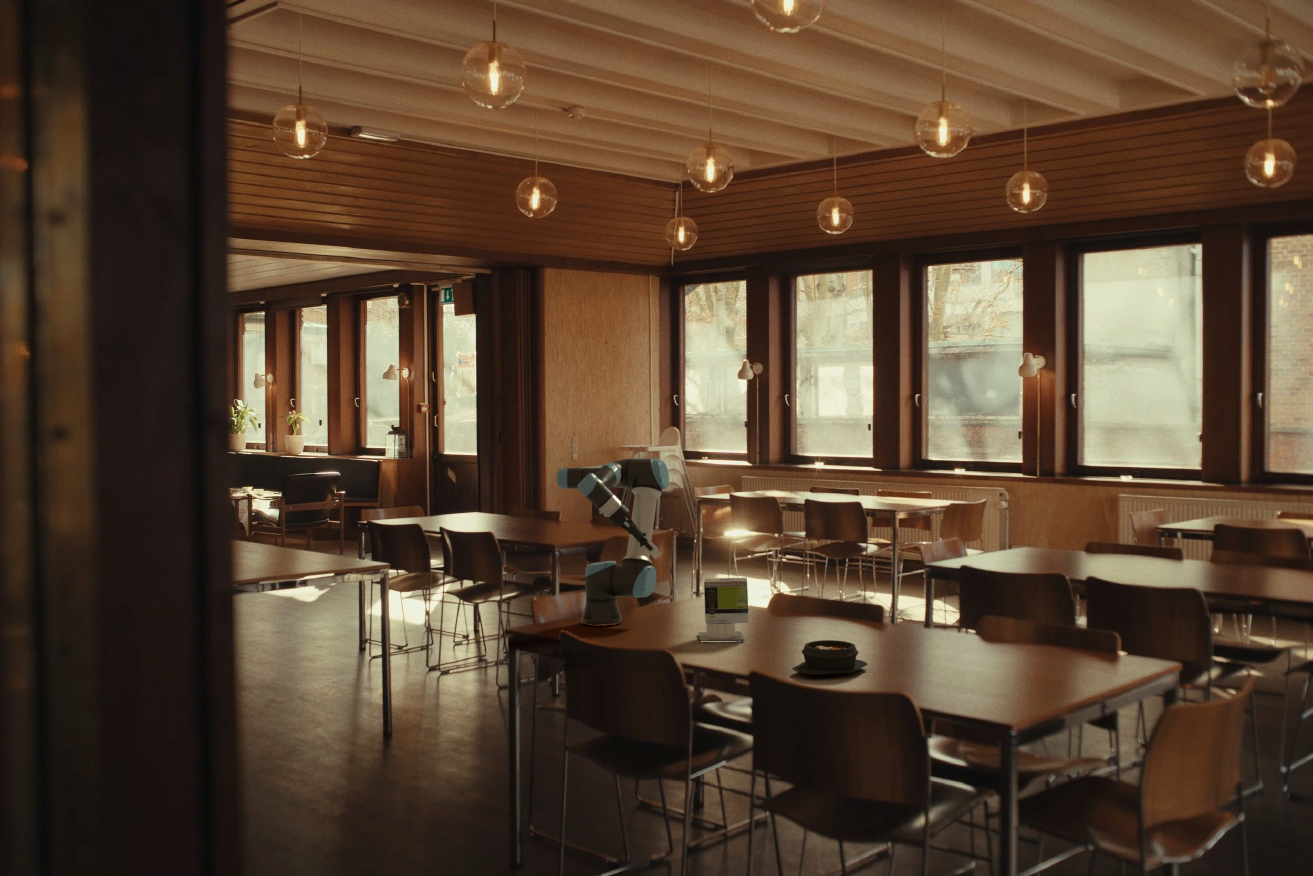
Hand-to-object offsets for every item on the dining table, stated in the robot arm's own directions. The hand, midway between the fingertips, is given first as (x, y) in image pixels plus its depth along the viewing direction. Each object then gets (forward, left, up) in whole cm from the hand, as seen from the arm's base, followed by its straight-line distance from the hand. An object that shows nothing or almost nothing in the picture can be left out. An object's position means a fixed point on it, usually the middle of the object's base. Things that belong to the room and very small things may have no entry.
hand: (657, 554), depth 396 cm
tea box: (+1, +24, -24) cm, 34 cm away
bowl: (+1, +22, -30) cm, 37 cm away
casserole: (+57, +50, -30) cm, 81 cm away
